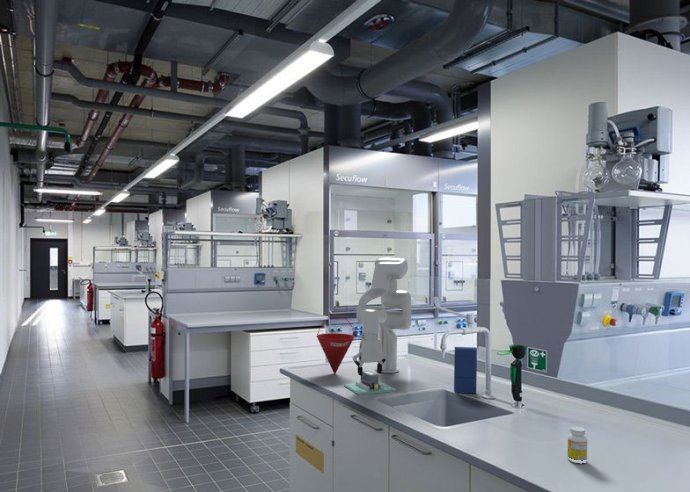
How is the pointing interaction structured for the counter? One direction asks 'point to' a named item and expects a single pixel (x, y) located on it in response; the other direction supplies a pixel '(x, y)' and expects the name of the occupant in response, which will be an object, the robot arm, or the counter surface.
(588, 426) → the counter surface
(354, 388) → the docking tray
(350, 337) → the fire bucket
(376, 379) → the block
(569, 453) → the supplement bottle
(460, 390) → the electronic device
